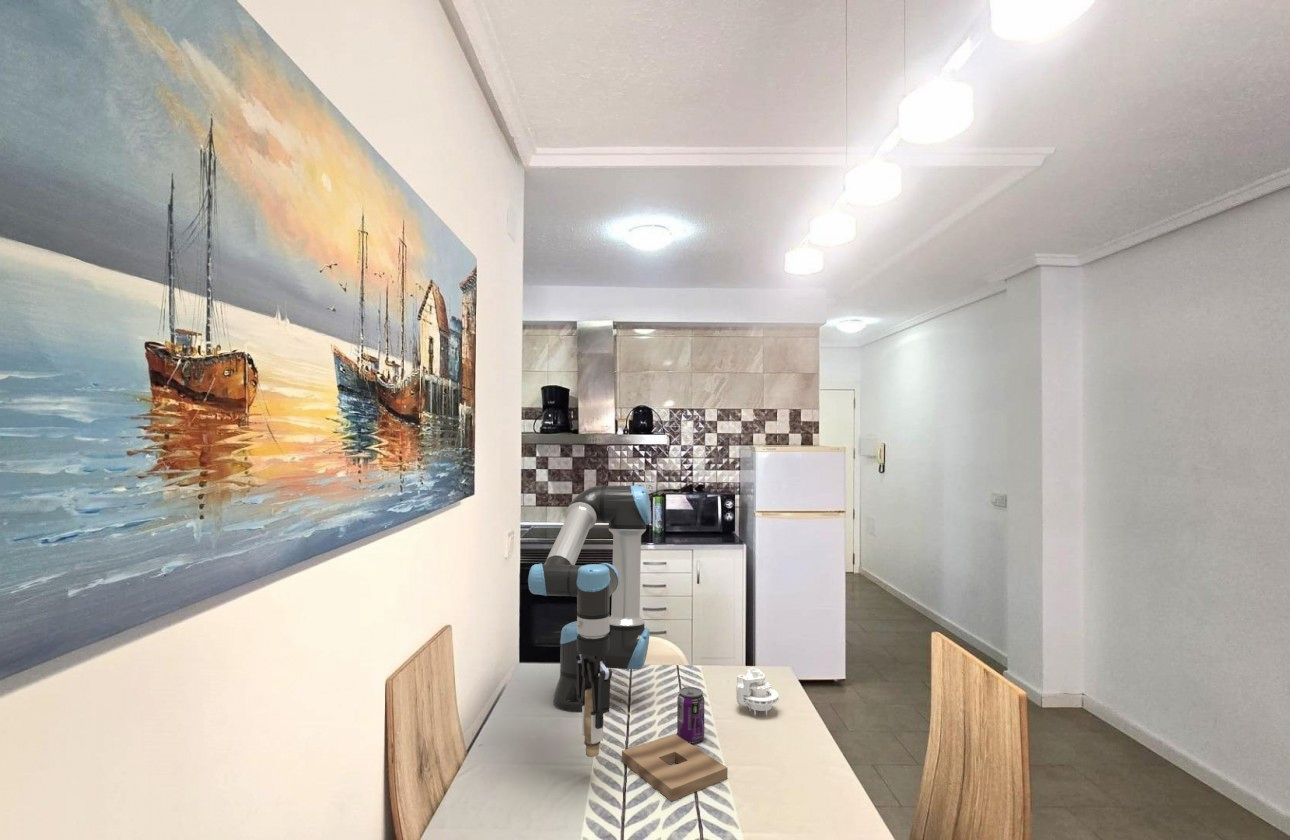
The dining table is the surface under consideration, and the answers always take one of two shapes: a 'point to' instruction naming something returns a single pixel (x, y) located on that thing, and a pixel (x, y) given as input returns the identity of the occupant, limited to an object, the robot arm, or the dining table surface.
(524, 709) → the dining table surface
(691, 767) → the board
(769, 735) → the dining table surface
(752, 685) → the mechanical part
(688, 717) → the beverage can
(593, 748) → the peg
